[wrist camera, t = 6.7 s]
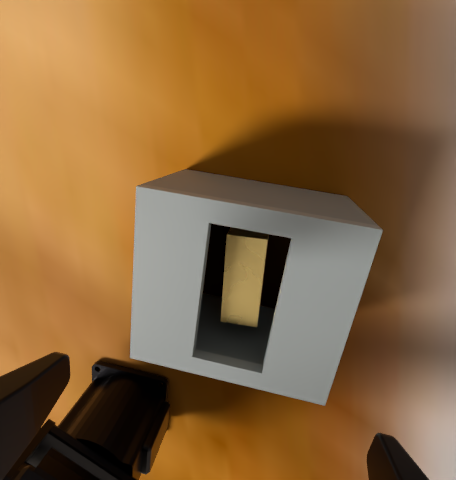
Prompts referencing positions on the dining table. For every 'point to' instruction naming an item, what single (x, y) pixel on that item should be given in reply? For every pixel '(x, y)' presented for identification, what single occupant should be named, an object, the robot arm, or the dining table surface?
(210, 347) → the coin box
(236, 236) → the block
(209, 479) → the dining table surface
